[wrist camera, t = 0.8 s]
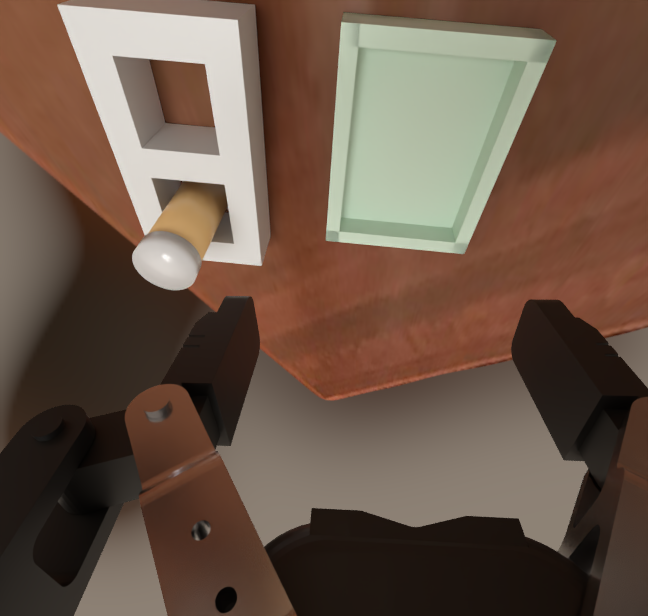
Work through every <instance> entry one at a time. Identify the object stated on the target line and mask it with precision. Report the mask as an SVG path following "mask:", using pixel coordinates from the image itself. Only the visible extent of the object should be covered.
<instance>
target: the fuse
mask: <svg viewBox="0 0 648 616" xmlns="http://www.w3.org/2000/svg"><path fill="white" fill-rule="evenodd" d="M227 208H228V203H227V197H226V191H225V185H223V184H212V183H202V182H191V181H183V182H182V184H181V185H180V187H179V188H178V190H177V191H176V193H175V194H174V196H173V197H172V199H171V200H170V202H169V203H168V205H167V206H166V208H165V209H164V211H163V212H162V214H161V215H160V217H159V218H158V220H157V221H156V223H155V224H154V225H153V227H152V228H151V230H150V231H149V233H148V234H146V235H145V236H144V237H143V239H142V240H141V242H140V243H139V244H138V246H137V247H136V249H135V251H134V252H133V255H132V260H133V264H134V266H135V268H136V269H137V271H138V272H139V273H140V275H142V276H143V277H144V278H145V279H146V280H148V281H149V282H151V283H152V284H155V285H157V286H159V287H162V288H165V289H170V290H182V289H186V288H188V287H190V286H191V285H192V284H193V283H194V281H195V279H196V277H197V274H198V272H199V270H200V268H201V262H202V260H203V258H204V256H205V254H206V251H207V249H208V247H209V245H210V243H211V241H212V239H213V237H214V234H215V232H216V230H217V228H218V226H219V224H220V222H221V220H222V218H223V215H224V213H225V211H226V209H227Z"/></svg>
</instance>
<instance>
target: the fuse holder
mask: <svg viewBox="0 0 648 616" xmlns="http://www.w3.org/2000/svg"><path fill="white" fill-rule="evenodd" d="M57 5H58V8H59V11H60V13H61V16H62V18H63V21H64V24H65V26H66V29H67V32H68V34H69V37H70V40H71V42H72V45H73V47H74V50H75V53H76V55H77V58H78V61H79V63H80V66H81V68H82V71H83V74H84V76H85V79H86V82H87V84H88V87H89V90H90V92H91V95H92V97H93V100H94V103H95V105H96V108H97V111H98V113H99V116H100V118H101V121H102V124H103V126H104V129H105V132H106V134H107V137H108V140H109V142H110V145H111V147H112V150H113V153H114V155H115V158H116V161H117V163H118V166H119V169H120V171H121V174H122V176H123V179H124V182H125V184H126V187H127V190H128V192H129V195H130V197H131V200H132V203H133V205H134V208H135V211H136V213H137V216H138V219H139V221H140V224H141V226H142V229H143V232H144V234H145V235H146V234H148V233H149V231H150V230H151V228H152V227H153V225H154V224H155V223H156V221H157V220H158V218H159V217H160V215H161V214H162V212H163V211H164V209H165V208H166V206H167V205H168V203H169V202H170V200H171V199H172V197H173V196H174V194H175V193H176V191H177V190H178V188H179V187H180V185H181V182H180V181H191V182H202V183H212V184H223V185H225V191H226V197H227V203H228V209H229V213H226V212H225V213H224V215H223V218H222V220H221V222H220V224H219V226H218V228H217V230H216V232H215V234H214V237H213V239H212V241H211V243H210V245H209V247H208V249H207V251H206V254H205V256H204V258H203V260H207V261H218V262H228V263H238V264H248V265H258V266H262V263H263V260H264V256H265V253H266V250H267V246H268V243H269V240H270V236H271V233H270V219H269V204H268V189H267V174H266V159H265V144H264V130H263V115H262V100H261V85H260V70H259V55H258V40H257V26H256V11H255V5H253V4H242V3H230V2H218V1H206V0H69V1H66V2H63V3H60V4H57ZM149 59H155V60H167V61H178V62H189V63H200V64H205V67H206V73H207V79H208V85H209V92H210V98H211V104H212V110H213V116H214V122H215V127H204V126H193V125H182V124H171V123H165V119H164V116H163V112H162V108H161V104H160V100H159V96H158V92H157V88H156V84H155V81H154V77H153V73H152V69H151V65H150V61H149Z"/></svg>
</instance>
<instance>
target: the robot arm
mask: <svg viewBox="0 0 648 616" xmlns="http://www.w3.org/2000/svg"><path fill="white" fill-rule="evenodd" d="M259 348H260V337H259V331H258V325H257V319H256V314H255V308H254V302H253V299H252V297H250V296H226V297H225V298H224V300H223V302H222V304H221V306H220V308H219V310H218V311H217V312H209V313H208V314H206V315H205V316H204V317H202V318H201V319H200V320H199V321H198V322H196V323H195V325H194V327H193V329H192V330H191V332H190V334H189V337H188V338H187V339H186V341H185V343H184V344H183V348H181V350H180V351H179V353H178V355H177V357H176V358H175V360H174V362H173V364H172V365H171V367H170V369H169V371H168V372H167V374H166V376H165V378H164V379H163V381H162V383H161V384H160V385H158V386H155V387H152V388H150V389H147V390H146V391H144V392H142V393H141V394H139V395H138V396H137V397H136V398H135V399H134V400H133V401H132V402H131V403H130V404H129V406H128V408H127V409H126V410H123V411H119V412H114V413H110V414H106V415H101V416H96V417H92V418H89V417H88V416H87V414H86V412H85V411H84V410H83V409H82V408H81V407H79V406H75V405H62V406H57V407H54V408H51V409H48V410H46V411H44V412H42V413H40V414H38V415H37V416H35V417H33V418H32V419H31V420H29V421H28V422H27V423H26V424H25V425H23V426H22V428H21V429H20V430H19V431H18V432H17V433H16V435H15V436H14V437H13V438H12V440H11V441H10V442H9V443H8V445H7V446H6V447H5V448H4V450H3V451H2V452H1V453H0V616H74V614H75V611H76V609H77V607H78V605H79V602H80V600H81V598H82V595H83V593H84V591H85V589H86V587H87V584H88V582H89V580H90V578H91V576H92V573H93V571H94V569H95V567H96V564H97V562H98V560H99V557H100V555H101V553H102V551H103V549H104V546H105V544H106V542H107V539H108V537H109V535H110V533H111V531H112V528H113V526H114V524H115V521H116V519H117V517H118V515H119V513H120V510H121V508H122V506H123V503H124V502H128V501H131V500H135V499H140V504H141V509H142V513H143V517H144V521H145V525H146V529H147V533H148V538H149V541H150V545H151V550H152V554H153V558H154V562H155V566H156V570H157V574H158V578H159V582H160V586H161V590H162V594H163V599H164V603H165V607H166V611H167V615H168V616H648V388H647V387H646V386H645V385H644V383H643V382H642V381H641V380H640V379H639V378H638V377H637V375H636V374H635V373H634V372H633V371H632V370H631V368H630V367H629V366H628V365H627V364H626V363H625V361H624V360H623V359H622V358H621V357H618V354H617V352H616V351H615V350H614V349H613V348H612V346H609V345H608V342H607V341H606V339H605V338H604V337H603V336H602V335H601V334H600V332H599V331H598V330H597V329H596V328H594V327H592V326H591V325H589V324H588V323H586V322H585V321H583V320H582V319H580V318H575V317H574V316H573V315H572V314H571V312H570V311H569V310H568V309H567V307H566V306H565V305H564V304H563V303H562V302H561V301H560V300H528V301H527V302H526V304H525V306H524V308H523V311H522V314H521V317H520V320H519V323H518V326H517V329H516V332H515V335H514V338H513V341H512V347H511V351H512V358H513V361H514V363H515V365H516V367H517V369H518V371H519V373H520V375H521V377H522V379H523V381H524V383H525V385H526V387H527V389H528V391H529V393H530V395H531V397H532V399H533V401H534V403H535V404H536V407H537V408H538V410H539V412H540V414H541V416H542V418H543V420H544V422H545V424H546V426H547V428H548V430H549V432H550V434H551V436H552V438H553V440H554V442H555V444H556V446H557V448H558V450H559V452H560V454H561V455H562V458H563V460H571V461H573V460H574V461H585V463H586V465H587V467H588V468H589V469H588V470H587V472H586V473H585V475H584V477H583V480H582V483H581V487H580V490H579V493H578V496H577V499H576V503H575V506H574V509H573V512H572V515H571V518H570V522H569V525H568V528H567V531H566V534H565V537H564V539H563V541H562V544H561V546H560V548H559V549H558V551H555V550H553V549H551V548H550V547H548V546H546V545H544V544H542V543H540V542H537V541H535V540H533V539H530V538H528V537H525V535H524V533H523V530H522V527H521V524H520V521H519V519H514V518H495V517H473V516H465V517H460V518H456V519H452V520H447V521H443V522H439V523H435V524H431V525H426V526H422V527H410V526H407V525H404V524H401V523H398V522H395V521H391V520H388V519H385V518H382V517H379V516H376V515H373V514H369V513H367V512H363V511H357V510H337V509H316V508H312V511H311V522H310V524H306V525H301V526H299V527H296V528H294V529H291V530H289V531H287V532H285V533H283V534H281V535H279V536H278V537H276V538H275V539H274V540H272V541H271V542H269V543H268V544H267V545H266V546H265V547H264V546H263V544H262V542H261V540H260V538H259V536H258V534H257V531H256V529H255V527H254V525H253V523H252V521H251V519H250V517H249V515H248V513H247V510H246V508H245V506H244V505H243V502H242V500H241V498H240V496H239V494H238V492H237V490H236V488H235V485H234V484H233V481H232V479H231V477H230V475H229V473H228V471H227V469H226V467H225V465H224V462H223V460H222V459H221V457H220V455H219V453H218V451H215V449H216V446H217V445H222V446H231V443H232V439H233V436H234V433H235V430H236V426H237V423H238V420H239V417H240V413H241V410H242V407H243V404H244V401H245V397H246V394H247V391H248V388H249V384H250V381H251V377H252V375H253V371H254V368H255V365H256V362H257V358H258V355H259Z"/></svg>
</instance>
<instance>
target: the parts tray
mask: <svg viewBox="0 0 648 616" xmlns="http://www.w3.org/2000/svg"><path fill="white" fill-rule="evenodd" d="M556 41H557V40H555V39H554V38H553V37H551V36H550V35H549V34H547V33H546V32H545V31H543V30H542V29H534V28H523V27H511V26H499V25H488V24H476V23H464V22H452V21H441V20H429V19H417V18H406V17H394V16H382V15H370V14H359V13H347V12H344V13H343V17H342V21H341V33H340V47H339V61H338V75H337V90H336V104H335V118H334V132H333V146H332V160H331V174H330V188H329V203H328V217H327V231H326V241H335V242H345V243H355V244H366V245H376V246H386V247H397V248H407V249H417V250H428V251H438V252H448V253H459V254H464V253H465V251H466V248H467V246H468V244H469V242H470V239H471V237H472V235H473V232H474V230H475V228H476V225H477V223H478V221H479V219H480V216H481V214H482V212H483V209H484V207H485V205H486V202H487V200H488V198H489V195H490V193H491V191H492V189H493V186H494V184H495V182H496V179H497V177H498V175H499V172H500V170H501V168H502V165H503V163H504V161H505V159H506V156H507V154H508V152H509V149H510V147H511V145H512V142H513V140H514V138H515V136H516V133H517V131H518V129H519V126H520V124H521V122H522V119H523V117H524V115H525V112H526V110H527V108H528V106H529V103H530V101H531V99H532V96H533V94H534V92H535V89H536V87H537V85H538V82H539V80H540V78H541V76H542V73H543V71H544V69H545V66H546V64H547V62H548V59H549V57H550V55H551V53H552V50H553V48H554V46H555V43H556Z"/></svg>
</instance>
